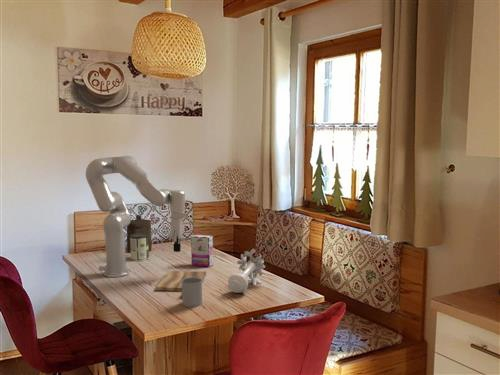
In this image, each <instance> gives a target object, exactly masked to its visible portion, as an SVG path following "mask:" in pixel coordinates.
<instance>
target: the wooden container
mask: <svg viewBox="0 0 500 375" xmlns="http://www.w3.org/2000/svg"><path fill="white" fill-rule="evenodd" d="M137 233H145V234H148V250H149V252H150V250H151V249H152V221H151V220H150V219H144V218H143V219H142V215H140V214H136V216H135V219H130V224H129V225H128V226H127V227H126V250H127V252H128V251H129V252H128V253H131V246H130V235H132V234H137ZM152 250H153V249H152ZM152 250H151V251H152Z"/></svg>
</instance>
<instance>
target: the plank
mask: <svg viewBox="0 0 500 375" xmlns="http://www.w3.org/2000/svg"><path fill="white" fill-rule="evenodd" d="M185 273H186V271H182V270H181V271H180V270H168V271H167V272H166V273H165V275H164V276H163V277H162V278H161V281H160V282H159V283H157V286H156V291H166V292H167V291H168V292H169V291H171V292H177V286H178V285H179V283H180V281H181V280H182V278H183V276H184V275H185Z"/></svg>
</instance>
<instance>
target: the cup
mask: <svg viewBox="0 0 500 375" xmlns="http://www.w3.org/2000/svg"><path fill="white" fill-rule="evenodd" d="M181 299H182V300H181V301H182V305H183V306H184V307H187V308H191V307H192V308H194V307H199V306H202V304H203V282H202V279H200V278H186V279H183V280H182V291H181Z"/></svg>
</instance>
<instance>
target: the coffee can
mask: <svg viewBox="0 0 500 375" xmlns="http://www.w3.org/2000/svg"><path fill="white" fill-rule="evenodd" d="M130 246H131V252H130V261H132V260H133V262H143V261H148V260H149V259H150V257H149V256H150V255H149V254H150V253H149V252H150V251H149V250H148V234H145V233H137V234H132V235H130ZM147 259H148V260H147Z"/></svg>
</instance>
